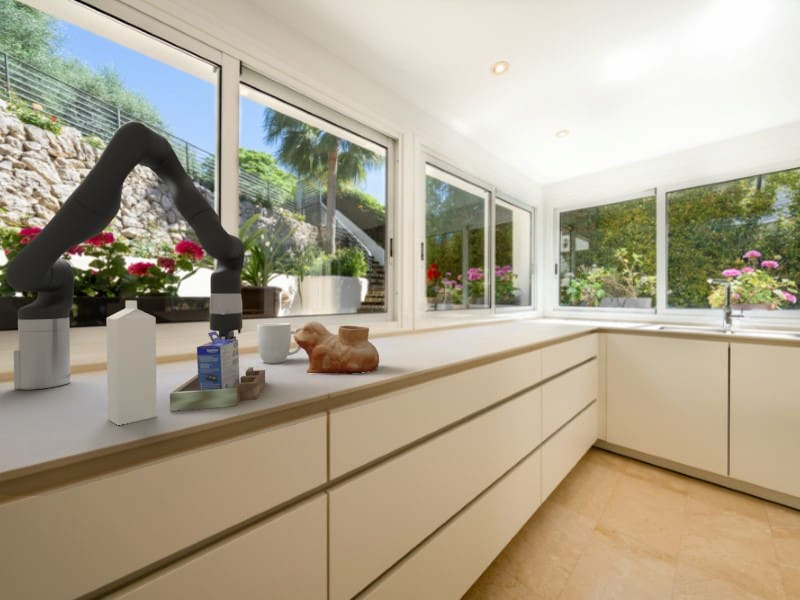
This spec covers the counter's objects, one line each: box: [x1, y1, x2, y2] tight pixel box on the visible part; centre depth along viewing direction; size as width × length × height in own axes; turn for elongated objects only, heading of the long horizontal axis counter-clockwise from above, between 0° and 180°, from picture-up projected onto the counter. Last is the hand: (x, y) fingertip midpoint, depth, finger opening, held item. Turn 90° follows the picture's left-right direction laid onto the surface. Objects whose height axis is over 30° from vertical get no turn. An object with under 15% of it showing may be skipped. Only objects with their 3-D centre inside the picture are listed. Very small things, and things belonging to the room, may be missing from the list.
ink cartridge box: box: [196, 331, 240, 390], centre depth 79 cm, size 10×6×14 cm, turn 4°
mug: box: [256, 322, 302, 364], centre depth 121 cm, size 15×11×13 cm
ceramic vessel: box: [293, 320, 380, 375], centre depth 107 cm, size 14×26×15 cm, turn 87°
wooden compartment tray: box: [169, 366, 266, 412], centre depth 82 cm, size 16×23×4 cm
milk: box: [105, 300, 158, 426], centre depth 65 cm, size 6×6×22 cm
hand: (227, 378), depth 90 cm, fingers closed
